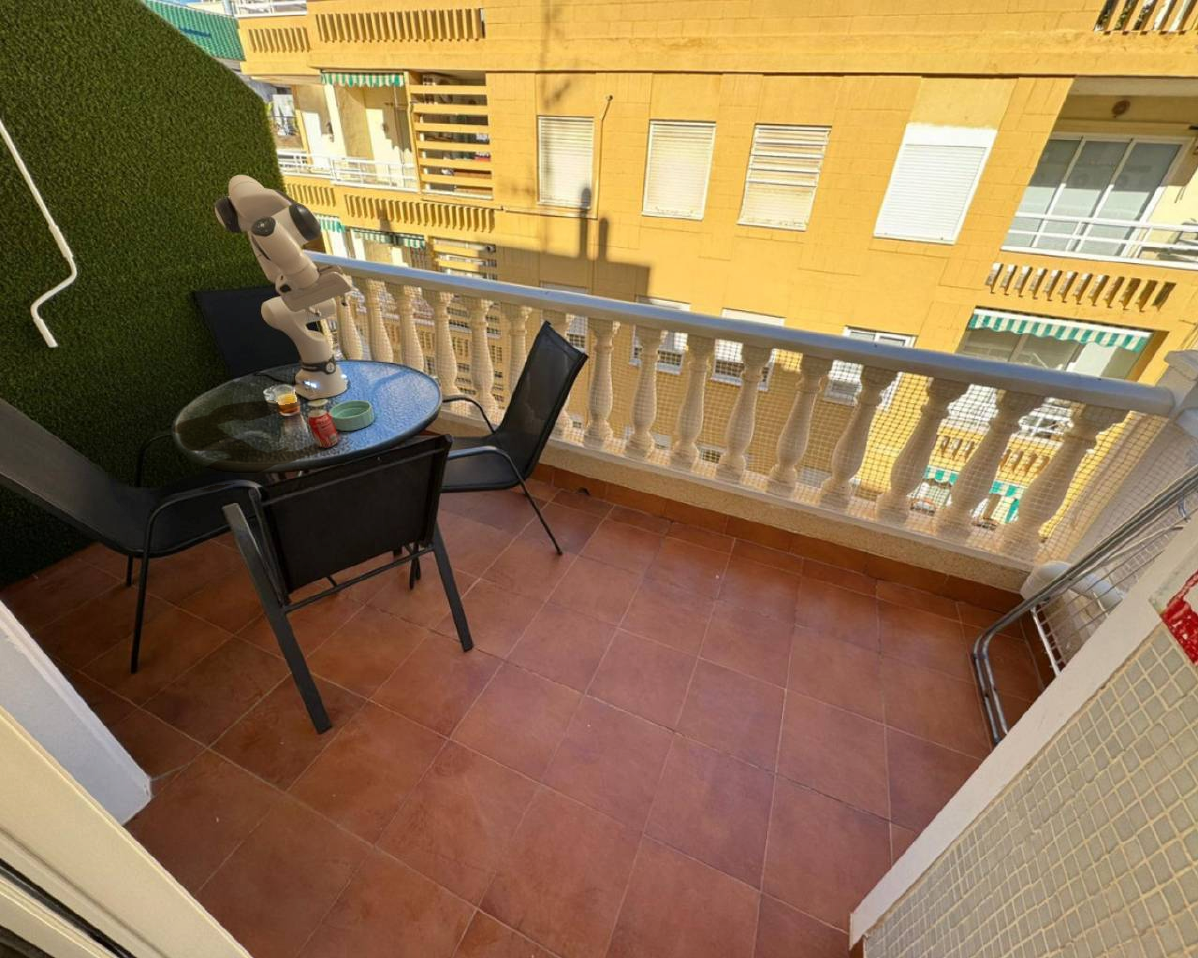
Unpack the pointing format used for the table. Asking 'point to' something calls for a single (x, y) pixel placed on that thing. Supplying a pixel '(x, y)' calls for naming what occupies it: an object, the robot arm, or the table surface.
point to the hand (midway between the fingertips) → (332, 310)
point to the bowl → (352, 415)
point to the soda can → (322, 428)
